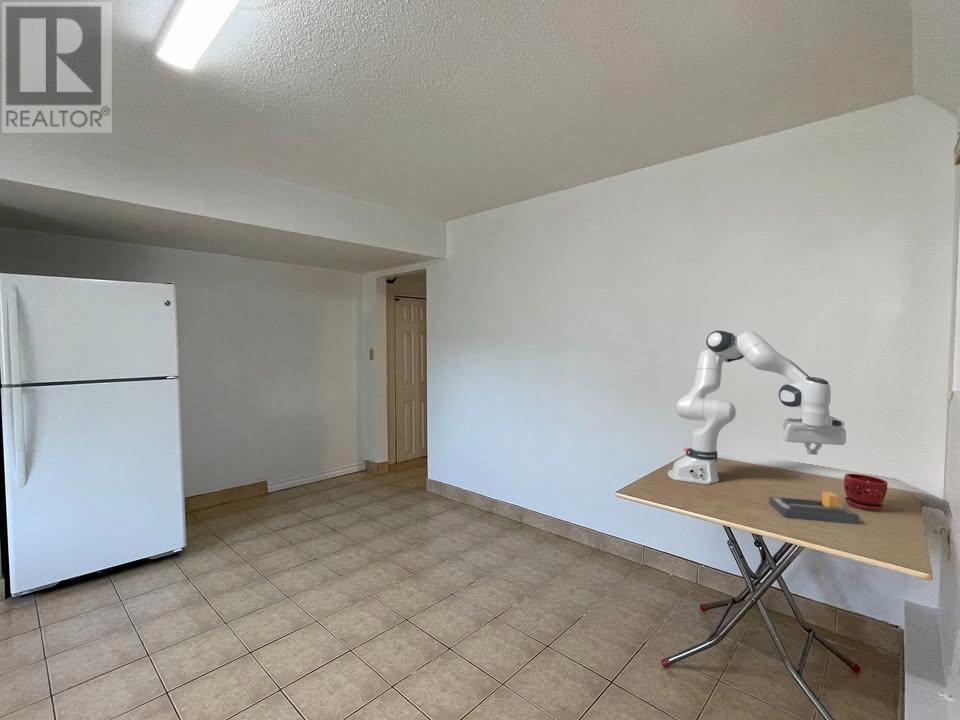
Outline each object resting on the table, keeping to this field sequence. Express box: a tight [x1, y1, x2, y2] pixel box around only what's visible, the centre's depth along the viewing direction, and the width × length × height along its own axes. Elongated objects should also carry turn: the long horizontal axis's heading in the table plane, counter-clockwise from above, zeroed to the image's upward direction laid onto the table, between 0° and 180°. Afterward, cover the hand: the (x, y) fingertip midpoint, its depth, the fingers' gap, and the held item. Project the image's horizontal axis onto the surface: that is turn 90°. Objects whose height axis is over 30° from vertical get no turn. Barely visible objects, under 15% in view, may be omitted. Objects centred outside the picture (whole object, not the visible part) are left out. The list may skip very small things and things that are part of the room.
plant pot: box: [843, 473, 889, 511], centre depth 176 cm, size 13×13×12 cm
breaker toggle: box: [821, 491, 840, 508], centre depth 167 cm, size 3×5×5 cm, turn 167°
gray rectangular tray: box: [768, 496, 860, 525], centre depth 168 cm, size 24×14×4 cm, turn 77°
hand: (812, 454), depth 170 cm, fingers closed
